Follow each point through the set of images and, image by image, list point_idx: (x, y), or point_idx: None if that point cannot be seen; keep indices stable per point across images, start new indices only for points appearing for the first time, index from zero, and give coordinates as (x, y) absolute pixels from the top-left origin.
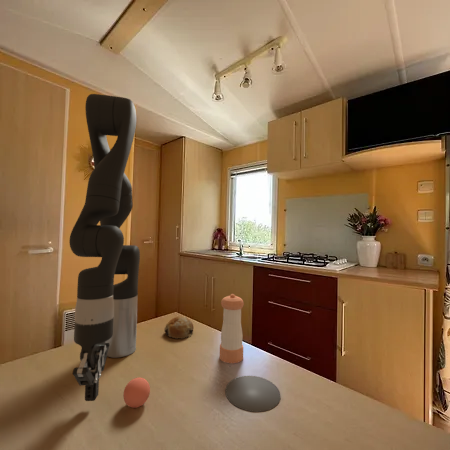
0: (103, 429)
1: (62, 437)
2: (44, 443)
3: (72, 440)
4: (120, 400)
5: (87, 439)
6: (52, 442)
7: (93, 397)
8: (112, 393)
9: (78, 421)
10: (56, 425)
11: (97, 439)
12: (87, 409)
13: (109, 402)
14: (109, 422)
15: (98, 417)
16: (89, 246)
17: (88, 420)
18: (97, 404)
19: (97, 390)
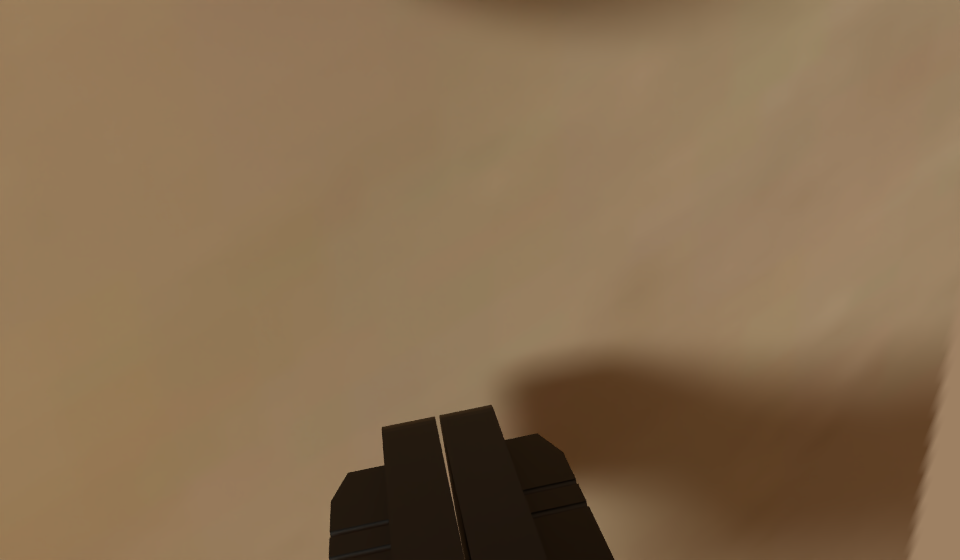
0: (796, 31)
1: (857, 403)
2: (902, 498)
3: (907, 288)
4: (217, 73)
5: (918, 141)
6: (902, 445)
7: (511, 445)
8: (77, 293)
9: (657, 397)
10: (704, 555)
11: (936, 23)
12: None
13: (294, 225)
14: (685, 12)
15: (596, 212)
16: None
17: (644, 301)
18: (360, 364)
19: (441, 475)
